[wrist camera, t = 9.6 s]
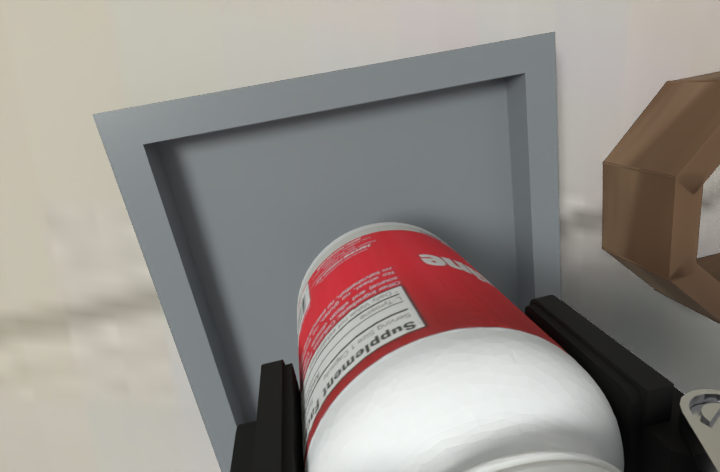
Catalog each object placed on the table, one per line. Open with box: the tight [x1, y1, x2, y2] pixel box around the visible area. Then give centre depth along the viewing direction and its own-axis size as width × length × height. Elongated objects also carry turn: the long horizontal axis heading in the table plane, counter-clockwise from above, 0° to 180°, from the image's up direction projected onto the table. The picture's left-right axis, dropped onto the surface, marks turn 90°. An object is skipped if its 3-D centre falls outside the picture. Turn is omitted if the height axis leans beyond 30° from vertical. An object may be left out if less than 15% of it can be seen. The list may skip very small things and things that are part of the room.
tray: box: [93, 32, 561, 472], centre depth 19 cm, size 16×16×2 cm
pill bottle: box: [297, 222, 624, 472], centre depth 11 cm, size 6×6×11 cm
